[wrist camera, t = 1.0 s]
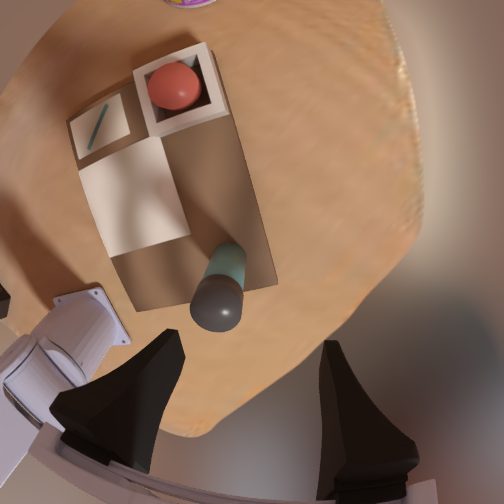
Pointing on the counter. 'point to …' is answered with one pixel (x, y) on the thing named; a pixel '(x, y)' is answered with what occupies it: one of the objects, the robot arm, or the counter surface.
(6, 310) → the black spring clamp
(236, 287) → the marker
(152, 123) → the button housing
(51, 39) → the counter surface
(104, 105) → the drawing board
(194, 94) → the button
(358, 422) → the robot arm
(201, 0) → the supplement bottle
